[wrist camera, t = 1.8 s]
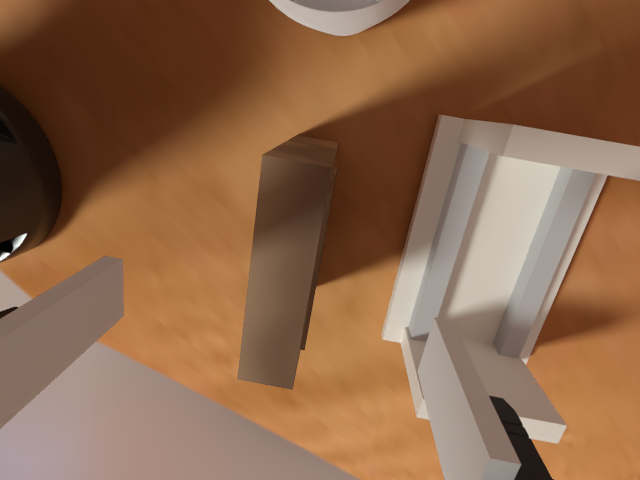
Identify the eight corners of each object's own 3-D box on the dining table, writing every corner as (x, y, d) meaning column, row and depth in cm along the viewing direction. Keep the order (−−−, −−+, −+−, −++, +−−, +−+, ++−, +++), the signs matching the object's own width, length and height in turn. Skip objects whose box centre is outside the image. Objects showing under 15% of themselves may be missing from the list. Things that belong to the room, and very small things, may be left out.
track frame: (381, 332, 32) (393, 413, 24) (438, 114, 26) (481, 118, 18) (520, 358, 32) (581, 447, 24) (610, 144, 26) (735, 163, 18)
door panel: (277, 281, 32) (237, 379, 20) (298, 134, 27) (262, 154, 16) (315, 288, 31) (297, 390, 20) (342, 142, 27) (337, 168, 16)
